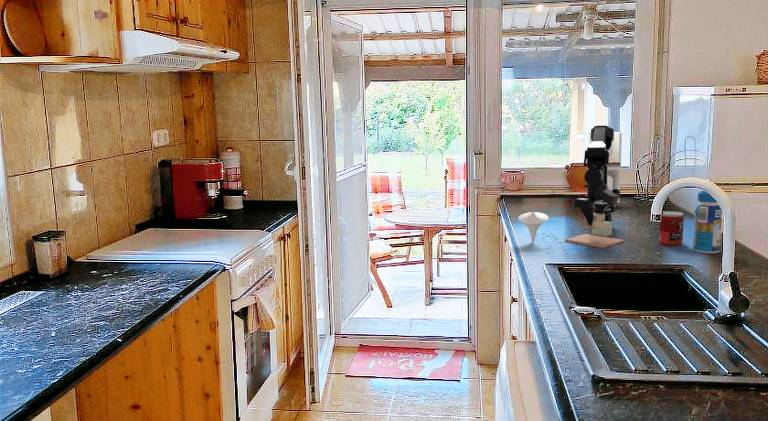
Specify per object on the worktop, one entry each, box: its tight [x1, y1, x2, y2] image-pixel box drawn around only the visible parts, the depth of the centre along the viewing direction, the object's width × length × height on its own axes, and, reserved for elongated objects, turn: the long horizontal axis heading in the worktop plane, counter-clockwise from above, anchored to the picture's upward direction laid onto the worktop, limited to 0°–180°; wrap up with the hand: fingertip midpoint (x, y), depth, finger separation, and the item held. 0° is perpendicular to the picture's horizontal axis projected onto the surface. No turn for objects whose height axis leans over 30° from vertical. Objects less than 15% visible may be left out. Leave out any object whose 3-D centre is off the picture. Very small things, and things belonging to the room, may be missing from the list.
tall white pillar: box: [588, 131, 623, 208], centre depth 317 cm, size 11×11×35 cm
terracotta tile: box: [564, 233, 625, 249], centre depth 242 cm, size 16×13×1 cm
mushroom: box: [517, 210, 549, 244], centre depth 242 cm, size 10×11×12 cm
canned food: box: [658, 210, 685, 247], centre depth 234 cm, size 8×8×11 cm
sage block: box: [591, 221, 613, 237], centre depth 253 cm, size 6×4×5 cm, turn 40°
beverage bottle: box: [692, 190, 723, 254], centre depth 221 cm, size 8×8×20 cm
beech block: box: [584, 213, 605, 230], centre depth 240 cm, size 5×5×5 cm
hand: (594, 224), depth 241 cm, fingers closed on beech block, 5 cm apart
